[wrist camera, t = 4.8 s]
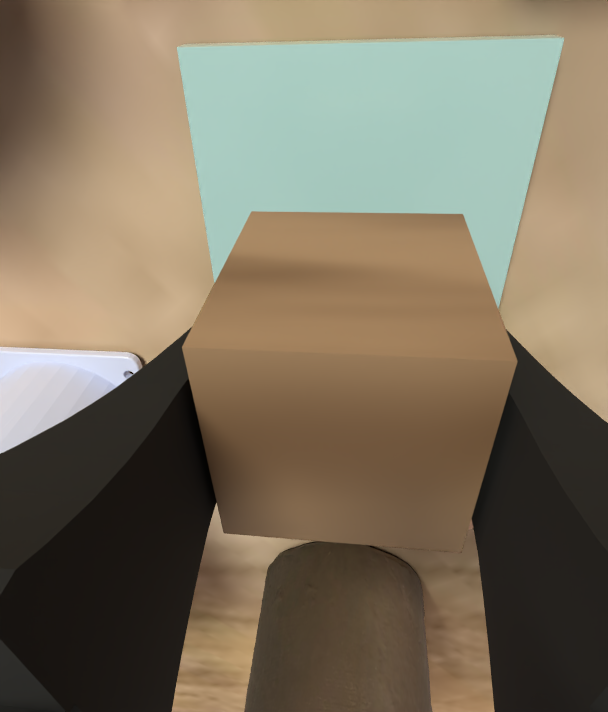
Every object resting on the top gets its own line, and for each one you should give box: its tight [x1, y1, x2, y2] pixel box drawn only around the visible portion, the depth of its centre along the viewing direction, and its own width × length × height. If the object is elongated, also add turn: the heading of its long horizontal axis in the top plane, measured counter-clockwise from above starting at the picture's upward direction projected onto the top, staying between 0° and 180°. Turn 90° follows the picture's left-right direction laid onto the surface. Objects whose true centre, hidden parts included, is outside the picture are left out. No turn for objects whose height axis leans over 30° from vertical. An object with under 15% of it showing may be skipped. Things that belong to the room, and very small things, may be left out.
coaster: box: [177, 35, 564, 308], centre depth 16 cm, size 10×10×1 cm
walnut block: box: [182, 211, 518, 553], centre depth 10 cm, size 4×4×5 cm
